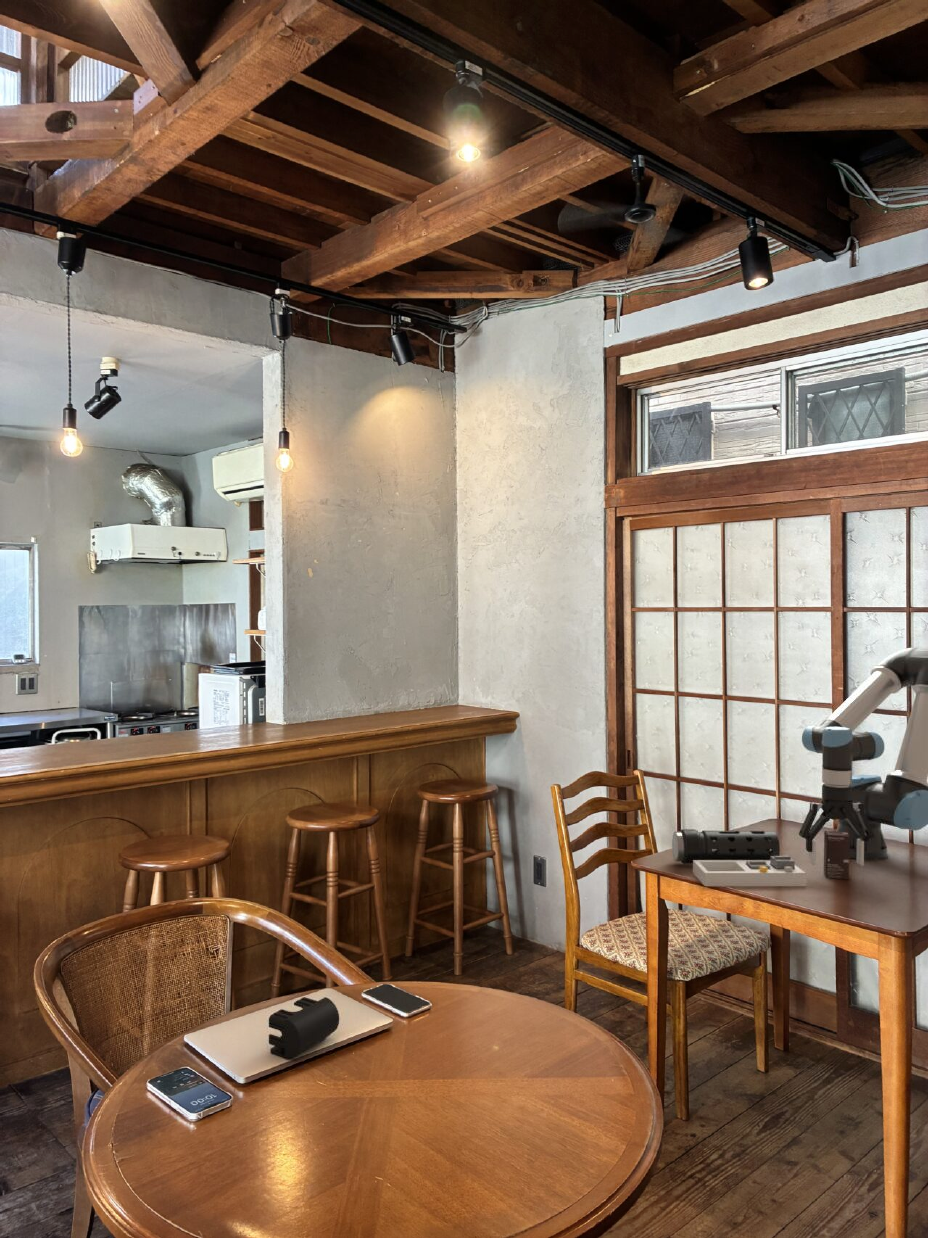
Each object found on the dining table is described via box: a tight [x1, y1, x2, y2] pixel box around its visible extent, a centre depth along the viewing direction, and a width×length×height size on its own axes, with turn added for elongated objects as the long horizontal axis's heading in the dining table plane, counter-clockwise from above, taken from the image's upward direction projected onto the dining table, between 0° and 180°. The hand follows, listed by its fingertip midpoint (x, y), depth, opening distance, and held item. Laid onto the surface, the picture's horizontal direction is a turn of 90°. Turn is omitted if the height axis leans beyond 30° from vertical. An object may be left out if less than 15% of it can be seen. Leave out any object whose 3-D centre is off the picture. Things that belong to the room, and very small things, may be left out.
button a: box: [770, 855, 796, 869], centre depth 241 cm, size 5×5×4 cm
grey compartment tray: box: [692, 860, 807, 887], centre depth 241 cm, size 26×12×4 cm, turn 90°
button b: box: [746, 861, 770, 869], centre depth 241 cm, size 5×5×4 cm
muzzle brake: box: [671, 828, 781, 865], centre depth 254 cm, size 10×28×10 cm, turn 89°
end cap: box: [268, 996, 340, 1061], centre depth 148 cm, size 10×7×7 cm
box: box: [823, 830, 850, 880], centre depth 243 cm, size 6×4×12 cm
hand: (836, 864), depth 243 cm, fingers open, 12 cm apart
